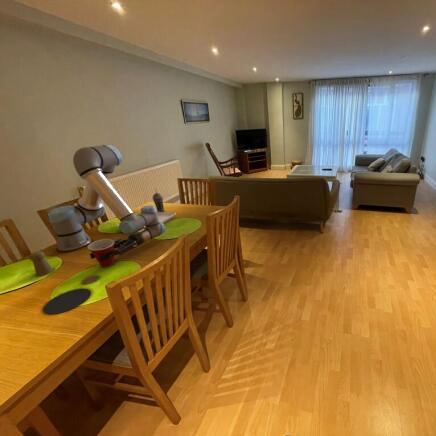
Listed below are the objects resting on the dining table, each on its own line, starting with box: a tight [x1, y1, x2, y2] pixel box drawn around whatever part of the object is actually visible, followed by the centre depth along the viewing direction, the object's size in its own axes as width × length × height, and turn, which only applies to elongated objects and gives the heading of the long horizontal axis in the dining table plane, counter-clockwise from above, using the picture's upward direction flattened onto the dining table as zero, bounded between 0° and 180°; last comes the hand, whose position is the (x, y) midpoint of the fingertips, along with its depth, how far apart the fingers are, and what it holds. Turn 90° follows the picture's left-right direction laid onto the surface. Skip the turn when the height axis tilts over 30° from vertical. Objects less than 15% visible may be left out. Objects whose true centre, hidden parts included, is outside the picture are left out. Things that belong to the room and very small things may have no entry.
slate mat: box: [42, 288, 92, 315], centre depth 99 cm, size 15×15×1 cm
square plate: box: [116, 211, 177, 230], centre depth 172 cm, size 27×27×4 cm
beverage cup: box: [152, 187, 165, 212], centre depth 190 cm, size 7×7×20 cm
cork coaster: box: [81, 275, 99, 285], centre depth 112 cm, size 6×6×1 cm
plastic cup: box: [87, 238, 116, 268], centre depth 122 cm, size 11×11×12 cm
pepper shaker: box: [28, 251, 54, 277], centre depth 116 cm, size 6×6×11 cm
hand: (95, 257), depth 117 cm, fingers closed on plastic cup, 6 cm apart
